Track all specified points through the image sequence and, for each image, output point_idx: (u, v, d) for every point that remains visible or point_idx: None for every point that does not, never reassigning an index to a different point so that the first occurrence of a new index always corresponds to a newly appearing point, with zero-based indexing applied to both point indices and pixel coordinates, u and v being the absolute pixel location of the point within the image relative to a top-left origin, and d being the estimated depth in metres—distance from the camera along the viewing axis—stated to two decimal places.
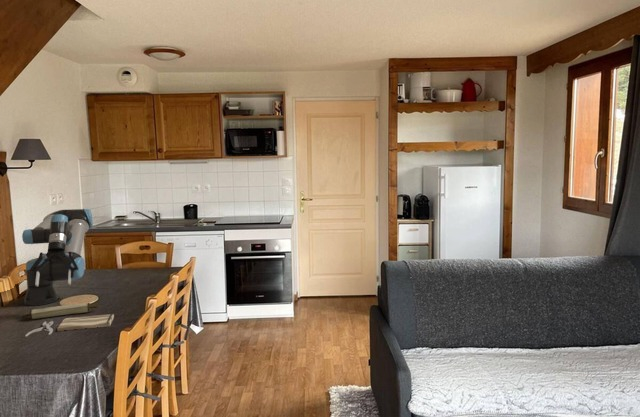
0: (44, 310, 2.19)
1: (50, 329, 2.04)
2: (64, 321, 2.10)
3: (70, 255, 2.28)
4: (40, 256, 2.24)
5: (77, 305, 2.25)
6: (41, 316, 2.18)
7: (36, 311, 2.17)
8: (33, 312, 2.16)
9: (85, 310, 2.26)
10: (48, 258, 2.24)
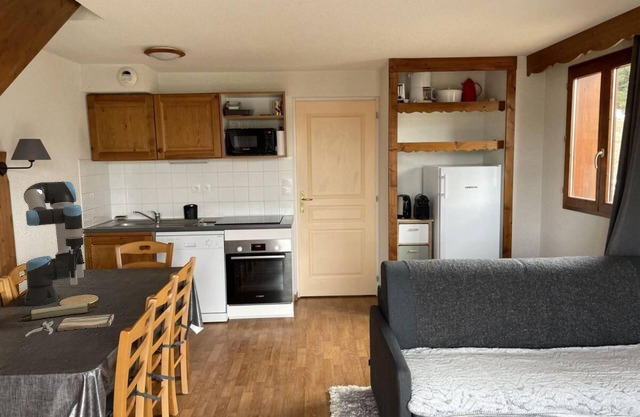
0: (44, 310, 2.18)
1: (50, 329, 2.04)
2: (64, 321, 2.10)
3: None
4: (74, 254, 2.16)
5: (77, 305, 2.25)
6: (41, 316, 2.18)
7: (36, 311, 2.17)
8: (33, 312, 2.16)
9: (85, 310, 2.26)
10: (78, 255, 2.20)
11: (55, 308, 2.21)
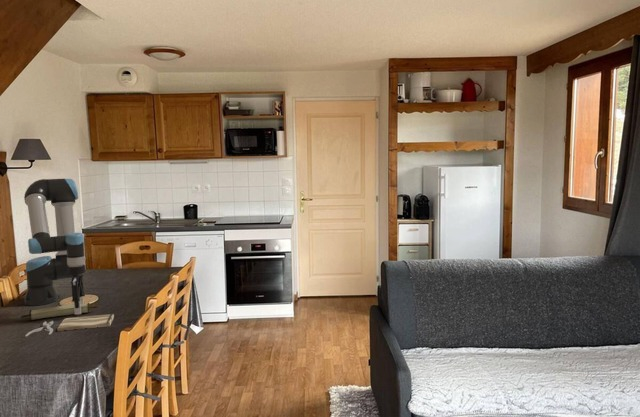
0: (44, 310, 2.17)
1: (50, 329, 2.04)
2: (64, 321, 2.10)
3: (82, 278, 2.30)
4: (77, 284, 2.19)
5: None
6: (41, 316, 2.17)
7: (36, 311, 2.16)
8: (33, 312, 2.15)
9: (85, 310, 2.25)
10: (80, 283, 2.23)
11: (55, 308, 2.20)
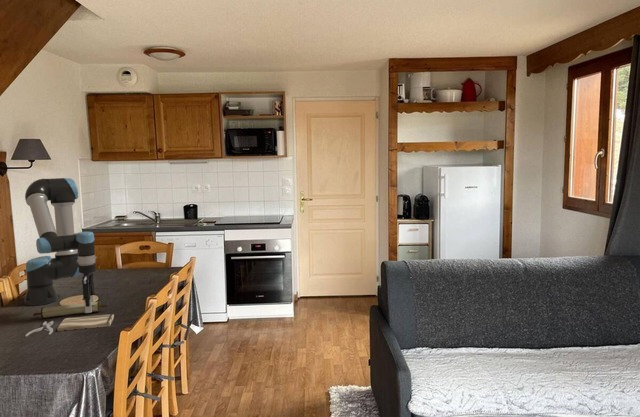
0: (55, 308, 2.19)
1: (50, 329, 2.04)
2: (64, 321, 2.10)
3: None
4: (88, 283, 2.20)
5: None
6: (52, 314, 2.19)
7: (47, 309, 2.18)
8: (44, 310, 2.17)
9: (95, 309, 2.26)
10: (91, 282, 2.24)
11: (66, 306, 2.22)
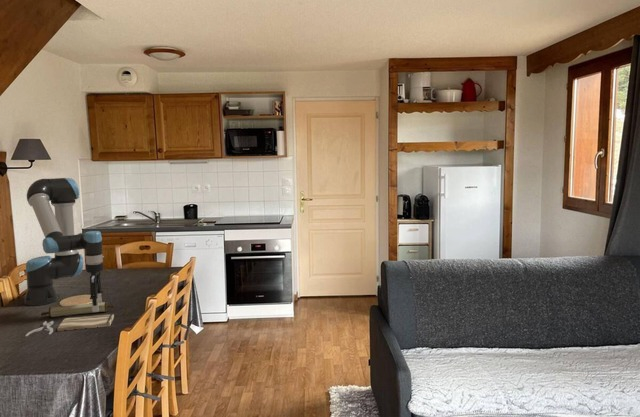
0: (62, 308, 2.21)
1: (50, 329, 2.04)
2: (64, 321, 2.10)
3: (100, 276, 2.32)
4: (95, 282, 2.21)
5: None
6: (59, 314, 2.20)
7: (55, 309, 2.19)
8: (52, 310, 2.19)
9: (102, 309, 2.26)
10: (98, 281, 2.25)
11: (73, 306, 2.23)
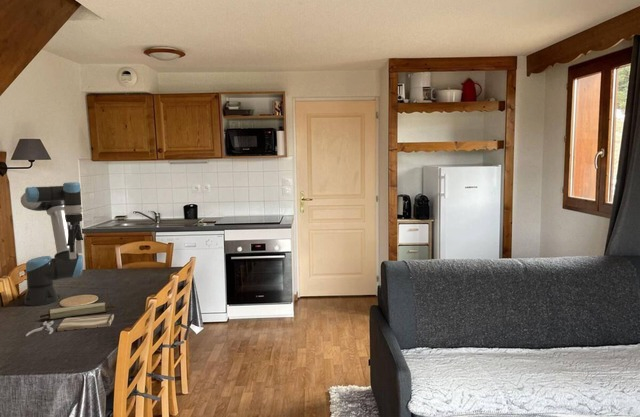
0: (62, 310, 2.19)
1: (50, 329, 2.04)
2: (64, 321, 2.10)
3: (79, 225, 2.37)
4: (74, 229, 2.24)
5: (95, 305, 2.25)
6: (59, 316, 2.18)
7: (54, 311, 2.17)
8: (51, 312, 2.16)
9: (103, 310, 2.26)
10: (77, 231, 2.28)
11: (73, 308, 2.21)
